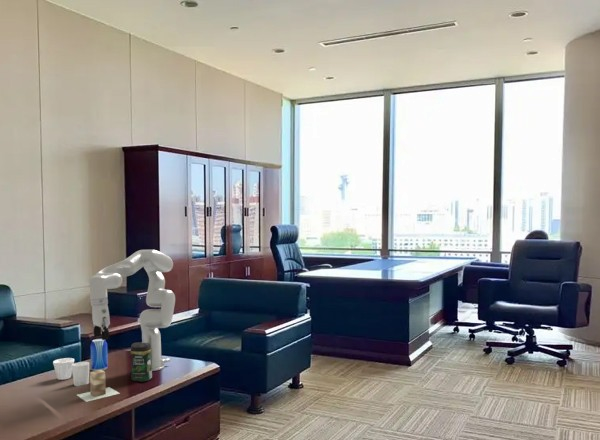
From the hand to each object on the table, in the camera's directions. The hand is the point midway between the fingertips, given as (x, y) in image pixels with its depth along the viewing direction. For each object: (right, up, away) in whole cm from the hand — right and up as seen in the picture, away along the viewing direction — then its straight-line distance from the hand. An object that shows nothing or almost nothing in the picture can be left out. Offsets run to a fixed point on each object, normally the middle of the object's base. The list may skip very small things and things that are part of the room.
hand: (101, 337), depth 246 cm
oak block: (+2, -18, -10) cm, 21 cm away
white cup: (-14, -25, +10) cm, 30 cm away
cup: (-27, -26, +21) cm, 43 cm away
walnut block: (+2, -23, -10) cm, 25 cm away
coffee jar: (+15, -24, +13) cm, 31 cm away
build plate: (+3, -24, -10) cm, 27 cm away
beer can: (-15, -25, +35) cm, 46 cm away
